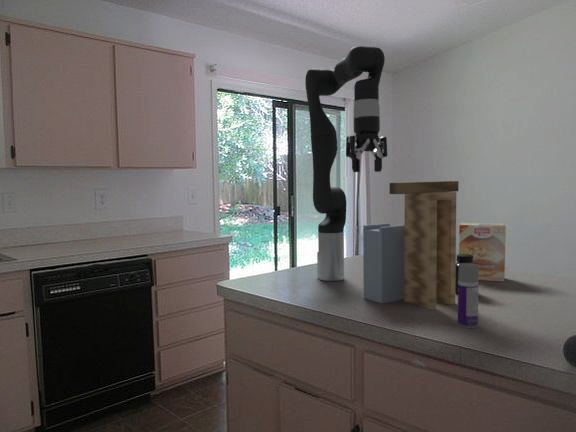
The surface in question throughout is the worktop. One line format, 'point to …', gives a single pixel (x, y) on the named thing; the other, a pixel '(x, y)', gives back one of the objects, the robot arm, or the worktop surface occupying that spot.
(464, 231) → the coffeecake box
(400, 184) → the rail
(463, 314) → the container
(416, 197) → the slotted wooden post
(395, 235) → the tall grey pillar
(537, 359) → the worktop surface
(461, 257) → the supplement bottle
